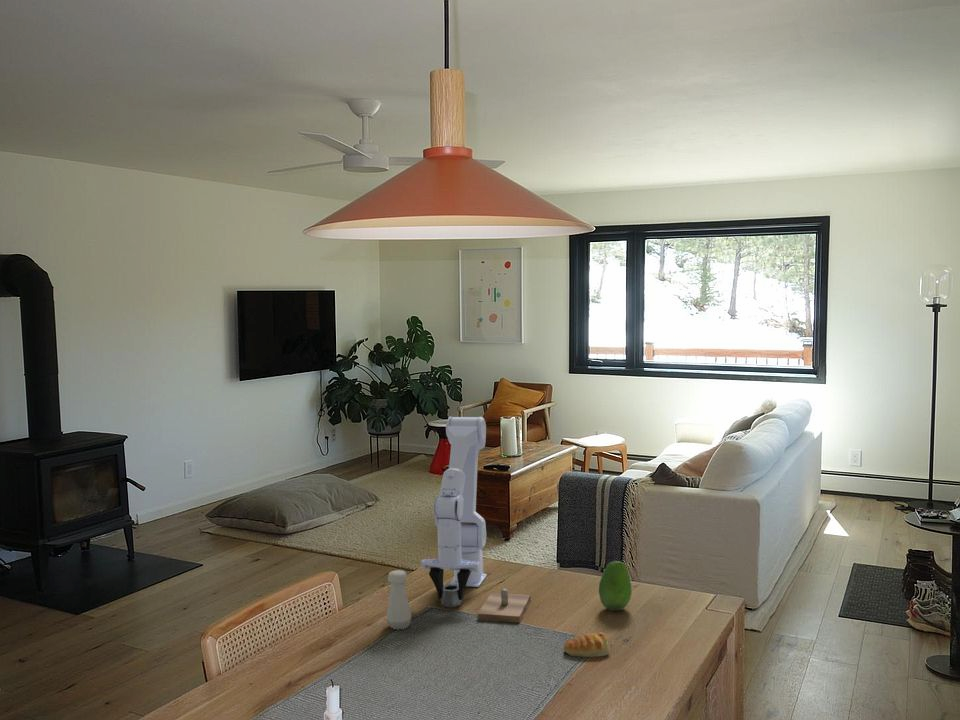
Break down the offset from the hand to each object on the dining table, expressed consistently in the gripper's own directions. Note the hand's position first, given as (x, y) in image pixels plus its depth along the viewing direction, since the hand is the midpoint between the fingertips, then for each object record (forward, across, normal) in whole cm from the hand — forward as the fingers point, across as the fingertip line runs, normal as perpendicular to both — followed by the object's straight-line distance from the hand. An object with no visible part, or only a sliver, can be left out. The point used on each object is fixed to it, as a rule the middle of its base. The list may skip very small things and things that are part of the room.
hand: (451, 598), depth 204 cm
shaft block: (+1, +14, -2) cm, 14 cm away
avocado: (+2, +40, +3) cm, 40 cm away
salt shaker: (+2, -8, -16) cm, 18 cm away
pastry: (+2, +36, -22) cm, 42 cm away
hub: (+1, 0, 0) cm, 1 cm away
